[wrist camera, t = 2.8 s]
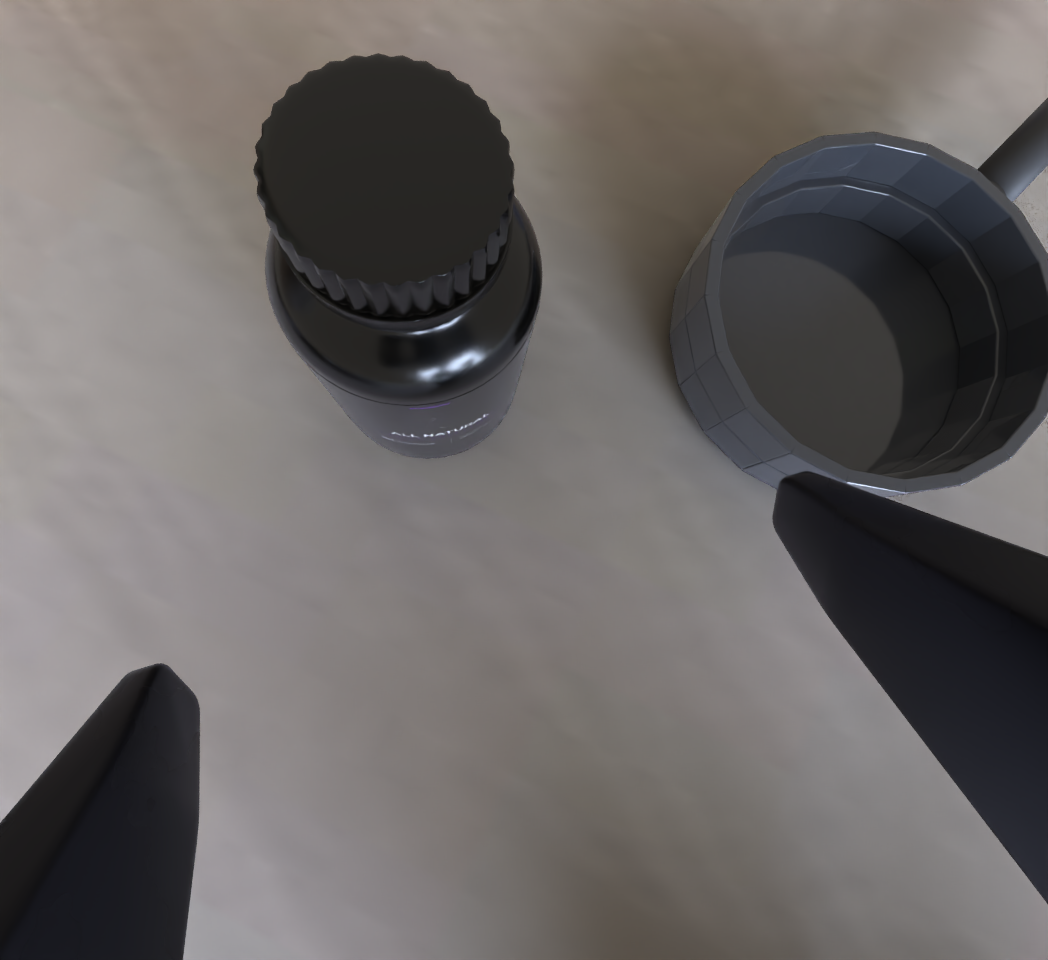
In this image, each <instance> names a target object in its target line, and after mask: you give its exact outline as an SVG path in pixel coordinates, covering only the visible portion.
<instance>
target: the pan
mask: <svg viewBox="0 0 1048 960" xmlns="http://www.w3.org/2000/svg"><path fill="white" fill-rule="evenodd" d="M669 336H670V337H669V338H670V344H671V349H672V354H673V360H674V365H675V370H676V376H677V381H678V385H679V386H680V389H681V391H682V393H683V395H684V396H685V398H686V400H687V402H688V404H689V406H690V408H691V410H692V411H693V413H694V415H695V417H696V419H697V421H698V423H699V425H700V426H701V428H702V430H703V431H705V434H706V435H707V436H708V437H709V438H710V439H711V440H712V441H713V442H714V443H715V444H716V445H717V446H718V447H719V448H720V449H721V450H722V451H723V452H724V453H725V454H726V455H727V456H728V457H729V458H730V459H731V460H732V461H733V462H734V463H735V464H736V465H737V466H738V467H739V468H740V469H742V471H743V472H745V473H747V474H749V475H751V476H753V477H755V478H757V479H758V480H760V481H762V482H764V483H766V484H768V485H770V486H772V487H774V488H775V489H777V488H778V484H779V482H780V481H781V479H782V478H784V477H786V476H789V475H793V474H796V473H799V472H803V471H811V472H814V473H817V474H820V475H823V476H825V477H828V478H831V479H834V480H836V481H839V482H842V483H845V484H848V485H850V486H853V487H856V488H859V489H862V490H864V491H867V492H870V493H873V494H875V495H878V496H881V497H884V498H885V497H891V496H898V495H904V494H911V493H917V492H924V491H930V490H937V489H943V488H950V487H956V486H961V485H964V484H966V483H968V482H969V481H971V480H973V479H975V478H977V477H979V476H980V475H982V474H984V473H986V472H988V471H990V470H991V469H993V468H995V467H997V466H999V465H1000V464H1002V463H1004V462H1006V461H1008V460H1009V459H1010V458H1012V457H1013V456H1014V454H1015V453H1016V452H1017V451H1018V450H1019V449H1020V447H1021V446H1022V445H1023V444H1024V443H1025V442H1026V440H1027V439H1028V438H1029V437H1030V436H1031V435H1032V433H1033V432H1034V431H1035V430H1036V429H1037V427H1038V426H1039V425H1040V424H1041V423H1042V422H1043V420H1044V419H1045V417H1046V416H1047V413H1048V254H1047V252H1046V250H1045V249H1044V247H1043V246H1042V244H1041V242H1040V241H1039V239H1038V237H1037V236H1036V234H1035V233H1034V231H1033V229H1032V228H1031V226H1030V224H1029V223H1028V221H1027V220H1026V218H1025V216H1024V215H1023V213H1022V211H1020V209H1019V208H1018V207H1017V206H1016V205H1015V204H1014V203H1013V202H1012V201H1011V200H1010V199H1009V198H1008V197H1006V196H1005V195H1004V194H1003V193H1002V192H1001V191H1000V190H999V189H998V188H997V187H996V186H995V185H994V184H993V183H992V182H991V181H989V180H988V179H987V178H986V177H985V176H984V175H983V174H982V173H981V172H980V171H978V170H977V169H975V168H973V167H972V166H970V165H968V164H966V163H964V162H962V161H960V160H958V159H957V158H955V157H953V156H951V155H949V154H947V153H945V152H944V151H942V150H940V149H938V148H936V147H934V146H932V145H930V144H929V145H928V143H924V142H919V141H915V140H910V139H906V138H901V137H896V136H892V135H887V134H883V133H878V132H865V133H852V134H839V135H827V136H821V137H818V138H816V139H814V140H811V141H809V142H807V143H804V144H802V145H799V146H797V147H795V148H792V149H790V150H788V151H785V152H783V153H781V154H778V155H776V156H774V157H773V158H771V159H770V160H769V161H768V162H767V163H766V164H765V165H764V166H763V167H762V168H761V169H759V170H758V171H757V172H756V173H755V174H754V175H753V176H752V177H751V178H750V179H749V180H748V181H747V182H745V183H744V184H743V185H742V186H741V187H740V188H739V189H738V190H737V191H736V192H735V193H734V195H733V196H732V197H731V199H730V200H729V202H728V203H727V205H726V206H725V207H724V209H723V210H722V212H721V213H720V215H719V216H718V218H717V219H716V220H715V222H714V223H713V225H712V226H711V228H710V229H709V231H708V232H707V233H706V235H705V236H704V238H703V239H702V241H701V242H700V243H699V245H698V246H697V248H696V249H695V251H694V253H693V255H692V257H691V259H690V261H689V263H688V265H687V267H686V269H685V271H684V273H683V275H682V277H681V279H680V281H679V283H678V285H677V288H676V289H675V296H674V304H673V311H672V318H671V326H670V333H669Z"/></svg>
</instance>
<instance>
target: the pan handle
mask: <svg viewBox="0 0 1048 960" xmlns="http://www.w3.org/2000/svg"><path fill="white" fill-rule="evenodd" d="M1047 165H1048V98H1047V99H1046V100H1045V101H1044V102H1043V103H1042V104H1041V105H1040V106H1039V107H1038V108H1037V109H1036V110H1035V111H1034V112H1033V113H1032V114H1031V115H1030V116H1029V117H1028V118H1027V119H1026V120H1025V121H1024V123H1023V124H1022V125H1021V126H1020V127H1019V128H1018V129H1017V130H1016V131H1015V132H1014V133H1013V134H1012V135H1011V136H1010V137H1009V138H1008V139H1007V140H1006V141H1005V142H1004V143H1003V144H1002V145H1001V146H1000V147H999V148H998V149H997V150H996V151H995V152H994V153H993V154H992V155H991V156H990V157H989V158H988V159H987V160H986V161H985V162H984V163H983V164H982V165H981V166H980V167H979V168H978V169H977V170H978V171H980V172H981V173H982V174H983V175H984V176H985V177H986V178H987V179H988V180H989V181H991V182H992V183H993V184H994V185H995V186H996V187H997V188H998V189H999V190H1000V191H1001V192H1002V193H1003V194H1004V195H1005V196H1006V197H1008V198H1009V199H1010V200H1011V201H1012V202H1013V201H1014V200H1015V199H1016V198H1017V197H1018V196H1019V195H1020V194H1021V193H1022V192H1023V191H1024V190H1025V188H1026V187H1027V186H1028V185H1029V184H1030V183H1031V182H1032V181H1033V180H1034V179H1035V178H1036V177H1037V176H1038V175H1039V174H1040V173H1041V172H1042V171H1043V170H1044V168H1045V167H1046V166H1047Z"/></svg>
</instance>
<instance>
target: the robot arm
mask: <svg viewBox="0 0 1048 960" xmlns="http://www.w3.org/2000/svg"><path fill="white" fill-rule="evenodd" d="M773 525H774V528H775V531H776V533H777V534H778V536H779V538H780V539H781V541H782V543H783V544H784V546H785V548H786V549H787V551H788V552H789V554H790V556H791V557H792V559H793V561H794V562H795V564H796V566H797V567H798V569H799V571H800V572H801V574H802V575H803V577H804V579H805V580H806V582H807V584H808V585H809V587H810V589H811V590H812V592H813V594H814V595H815V597H816V598H817V600H818V602H819V603H820V605H821V606H822V608H823V609H824V611H825V612H826V614H827V615H828V617H829V618H830V619H831V621H832V622H833V624H834V625H835V626H836V628H837V629H838V630H839V632H840V633H841V634H842V636H843V637H844V638H845V639H846V641H847V642H848V643H849V645H850V646H851V647H852V649H853V650H854V651H855V653H856V654H857V655H858V656H859V658H860V659H861V660H862V662H863V663H864V664H865V666H866V667H867V668H868V670H869V671H870V672H871V673H872V675H873V676H874V677H875V679H876V680H877V681H878V683H879V684H880V685H881V687H882V688H883V689H884V690H885V692H886V693H887V694H888V696H889V697H890V698H891V700H892V701H893V702H894V704H895V705H896V706H897V707H898V709H899V710H900V711H901V713H902V714H903V715H904V717H905V718H906V719H907V721H908V722H909V723H910V724H911V726H912V727H913V728H914V730H915V731H916V732H917V734H918V735H919V736H920V738H921V739H922V740H923V741H924V743H925V744H926V745H927V747H928V748H929V749H930V751H931V752H932V753H933V755H934V756H935V757H936V758H937V760H938V761H939V762H940V764H941V765H942V766H943V768H944V769H945V770H946V772H947V773H948V774H949V775H950V777H951V778H952V779H953V781H954V782H955V783H956V785H957V786H958V787H959V789H960V790H961V791H962V792H963V794H964V795H965V796H966V798H967V799H968V800H969V802H970V803H971V804H972V806H973V807H974V808H975V809H976V811H977V812H978V813H979V815H980V816H981V817H982V819H983V820H984V821H985V823H986V824H987V825H988V826H989V828H990V829H991V830H992V832H993V833H994V834H995V836H996V837H997V838H998V840H999V841H1000V842H1001V843H1002V845H1003V846H1004V847H1005V849H1006V850H1007V851H1008V853H1009V854H1010V855H1011V857H1012V858H1013V859H1014V860H1015V862H1016V863H1017V864H1018V866H1019V867H1020V868H1021V870H1022V871H1023V872H1024V874H1025V875H1026V876H1027V877H1028V879H1029V880H1030V881H1031V883H1032V884H1033V885H1034V887H1035V888H1036V889H1037V891H1038V892H1039V893H1040V894H1041V896H1042V897H1043V898H1044V900H1045V901H1046V902H1047V904H1048V556H1045V555H1042V554H1039V553H1037V552H1034V551H1031V550H1028V549H1026V548H1023V547H1020V546H1017V545H1014V544H1012V543H1009V542H1006V541H1003V540H1001V539H998V538H995V537H992V536H989V535H987V534H984V533H981V532H978V531H976V530H973V529H970V528H967V527H964V526H962V525H959V524H956V523H953V522H950V521H948V520H945V519H942V518H939V517H937V516H934V515H931V514H928V513H925V512H923V511H920V510H917V509H914V508H912V507H909V506H906V505H903V504H900V503H898V502H895V501H892V500H889V499H887V498H884V497H881V496H878V495H875V494H873V493H870V492H867V491H864V490H862V489H859V488H856V487H853V486H850V485H848V484H845V483H842V482H839V481H836V480H834V479H831V478H828V477H825V476H823V475H820V474H817V473H814V472H811V471H803V472H799V473H796V474H793V475H789V476H786V477H784V478H782V479H781V481H780V482H779V484H778V488H777V494H776V500H775V505H774V511H773ZM199 772H200V708H199V703H198V700H197V698H196V696H195V694H194V693H193V692H192V691H191V690H190V689H189V687H188V686H187V685H186V684H185V683H184V682H183V681H182V680H181V679H180V678H179V677H178V676H177V675H176V674H175V672H174V671H173V670H172V669H171V668H170V667H169V666H167V665H165V664H162V663H160V664H154V665H151V666H147V667H144V668H141V669H137V670H134V671H132V672H130V673H128V674H127V675H126V676H125V677H124V678H123V679H122V680H121V681H120V682H119V683H118V684H117V686H116V687H115V688H114V689H113V690H112V691H111V693H110V694H109V695H108V696H107V697H106V699H105V700H104V701H103V702H102V703H101V704H100V706H99V707H98V708H97V709H96V710H95V712H94V713H93V714H92V715H91V716H90V718H89V719H88V720H87V721H86V722H85V723H84V725H83V726H82V727H81V728H80V729H79V731H78V732H77V733H76V734H75V735H74V736H73V738H72V739H71V740H70V741H69V742H68V744H67V745H66V746H65V747H64V748H63V749H62V751H61V752H60V753H59V754H58V755H57V757H56V758H55V759H54V760H53V761H52V762H51V764H50V765H49V766H48V767H47V768H46V770H45V771H44V772H43V773H42V774H41V775H40V777H39V778H38V779H37V780H36V781H35V783H34V784H33V785H32V786H31V787H30V788H29V790H28V791H27V792H26V793H25V794H24V796H23V797H22V798H21V799H20V800H19V801H18V803H17V804H16V805H15V806H14V807H13V809H12V810H11V811H10V812H9V813H8V814H7V816H6V817H5V818H4V819H3V820H2V822H1V823H0V960H183V954H184V945H185V937H186V929H187V920H188V912H189V903H190V895H191V887H192V878H193V870H194V861H195V853H196V845H197V834H198V824H199Z"/></svg>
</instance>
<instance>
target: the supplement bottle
mask: <svg viewBox="0 0 1048 960" xmlns="http://www.w3.org/2000/svg"><path fill="white" fill-rule="evenodd" d="M255 149H256V154H257V157H258V158H257V162H256V163H255V166H254V169H253V171H254V175H255V177H256V179H257V181H258V186H257V196H258V199H259V201H260V203H261V205H262V207H263V208H264V210H265V215H266V219H267V222H268V224H269V226H270V228H271V230H270V234H269V238H268V242H267V249H266V257H265V275H266V285H267V290H268V295H269V299H270V303H271V306H272V309H273V312H274V314H275V316H276V319H277V321H278V323H279V325H280V327H281V329H282V330H283V332H284V334H285V336H286V337H287V339H288V340H289V342H290V344H291V345H292V346H293V348H294V349H295V351H296V352H297V353H298V355H299V356H300V357H301V358H302V360H303V361H304V362H305V363H306V365H307V366H308V367H309V368H310V370H311V371H312V372H313V373H314V375H315V376H316V377H317V378H318V380H319V381H320V382H321V383H322V384H323V386H324V387H325V388H326V389H327V391H328V392H329V393H330V394H331V396H332V397H333V398H334V399H335V400H336V402H337V403H338V404H339V405H340V407H341V408H342V409H343V410H344V412H345V413H346V414H347V415H348V417H349V418H350V419H351V420H352V421H353V422H354V423H355V425H356V426H357V427H358V428H359V429H360V430H361V431H362V432H363V433H364V434H365V435H366V436H368V437H369V438H370V439H372V440H373V441H374V442H376V443H377V444H379V445H381V446H382V447H384V448H386V449H388V450H390V451H392V452H395V453H398V454H401V455H405V456H408V457H415V458H426V459H429V458H442V457H447V456H452V455H455V454H458V453H461V452H463V451H466V450H468V449H470V448H472V447H474V446H475V445H477V444H479V443H480V442H481V441H483V440H484V439H485V438H486V437H488V436H489V435H490V434H491V433H492V432H493V431H494V430H495V429H496V428H497V426H498V425H499V424H500V423H501V421H502V420H503V418H504V417H505V415H506V413H507V411H508V409H509V407H510V405H511V403H512V400H513V397H514V395H515V392H516V388H517V385H518V381H519V378H520V374H521V371H522V367H523V363H524V360H525V356H526V353H527V349H528V345H529V342H530V338H531V335H532V331H533V327H534V324H535V320H536V316H537V312H538V309H539V303H540V297H541V290H542V260H541V254H540V249H539V245H538V241H537V237H536V234H535V232H534V229H533V226H532V224H531V222H530V220H529V218H528V216H527V214H526V212H525V210H524V209H523V207H522V205H521V204H520V202H519V201H518V199H517V198H516V197H515V195H514V186H513V179H514V163H513V161H512V159H511V157H510V155H509V151H510V145H509V141H508V139H507V138H506V137H505V136H504V135H503V133H502V132H501V125H500V120H499V119H498V118H496V117H495V116H494V115H493V114H492V113H491V112H490V110H489V107H488V105H487V102H486V101H485V100H483V99H482V98H480V97H478V96H477V95H475V93H474V92H473V90H472V88H471V87H470V85H468V84H466V83H464V82H461V81H459V80H457V79H456V78H455V77H454V76H453V75H452V74H451V73H450V72H449V71H446V70H440V69H436V68H435V67H434V66H433V65H431V64H430V63H428V62H427V61H413V60H412V59H410V58H408V57H405V56H403V55H402V56H395V57H389V56H386V55H382V54H374V55H371V56H368V57H363V56H351V57H349V58H348V59H346V60H344V61H332V62H329V63H327V64H326V65H325V66H324V67H323V68H321V69H319V70H314V71H310V72H308V73H307V74H306V75H305V76H304V77H303V79H302V80H301V81H300V82H298V83H296V84H293V85H291V86H289V88H288V89H287V91H286V93H285V96H284V97H283V98H281V99H280V100H278V101H277V102H276V103H274V104H273V107H272V111H271V116H270V117H269V118H268V119H266V120H265V121H264V123H263V124H262V136H261V138H260V140H259V141H258V142H257V144H256V146H255Z"/></svg>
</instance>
